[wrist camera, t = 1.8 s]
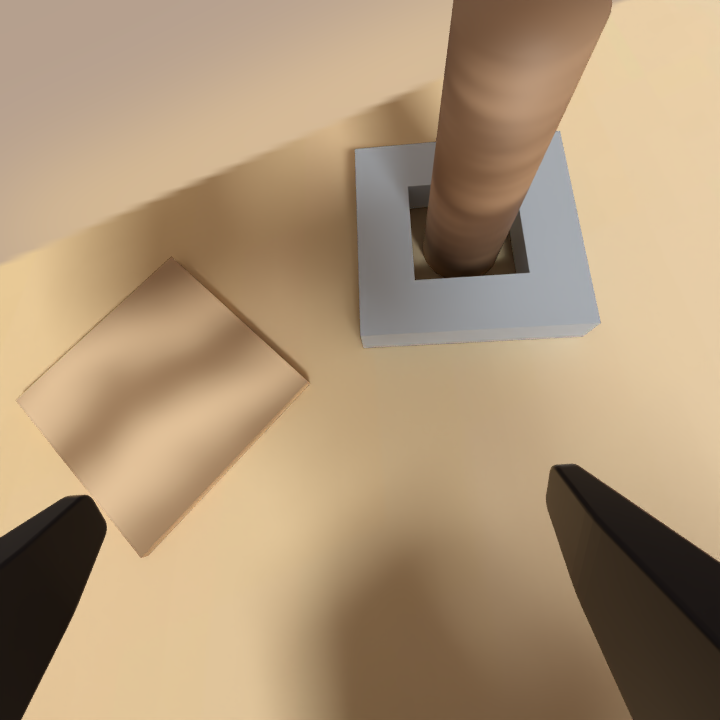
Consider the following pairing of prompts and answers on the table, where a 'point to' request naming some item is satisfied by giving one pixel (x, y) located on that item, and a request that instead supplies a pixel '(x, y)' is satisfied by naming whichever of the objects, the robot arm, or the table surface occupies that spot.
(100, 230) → the table surface
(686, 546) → the robot arm
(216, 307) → the wooden coaster
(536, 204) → the holder block
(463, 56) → the walnut dowel
